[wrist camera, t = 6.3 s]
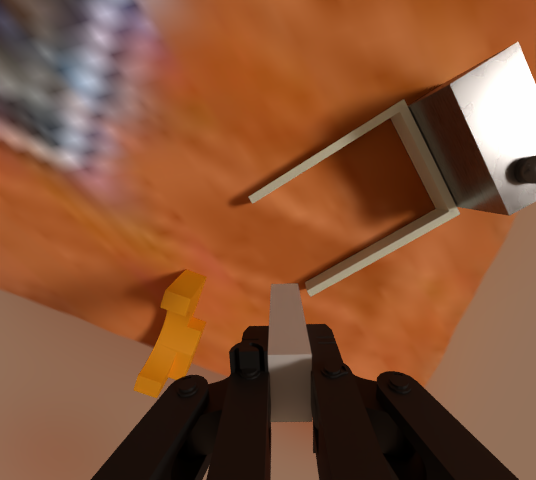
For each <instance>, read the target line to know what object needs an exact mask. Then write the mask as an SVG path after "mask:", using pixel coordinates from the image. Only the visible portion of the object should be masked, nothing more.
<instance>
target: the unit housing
mask: <svg viewBox="0 0 536 480" xmlns="http://www.w3.org/2000/svg"><path fill="white" fill-rule="evenodd" d="M408 108H409V110H410V112H411V114H412V116H413V118H414V120H415V123H416V125H417V127H418V129H419V131H420V133H421V135H422V137H423V139H424V141H425V143H426V145H427V147H428V149H429V151H430V153H431V155H432V157H433V159H434V162H435V164H436V166H437V168H438V170H439V172H440V174H441V176H442V178H443V180H444V182H445V184H446V186H447V188H448V190H449V192H450V194H451V196H452V198H453V201H454V203H455V205H456V207H462V208H468V209H473V210H479V211H485V212H491V213H497V214H503V215H511V214H513V213H515V212H517V211H519V210H521V209H522V208H524V207H526V206H528V205H530V204H532V203H533V202H535V201H536V85H535V82H534V80H533V77H532V75H531V72H530V70H529V67H528V65H527V62H526V60H525V57H524V55H523V52H522V50H521V47H520V45H519V42H517V43H515V44H513V45H511V46H510V47H508V48H506V49H504V50H502V51H501V52H499V53H497V54H495V55H493V56H492V57H490V58H488V59H486V60H485V61H483V62H481V63H479V64H477V65H476V66H474V67H472V68H470V69H468V70H467V71H465V72H463V73H461V74H460V75H458V76H456V77H454V78H452V79H451V80H449V81H447V82H445V83H443V84H442V85H440V86H439V87H437V88H435V89H434V90H432V91H431V92H429V93H427V94H426V95H424V96H423V97H421V98H419V99H418V100H416V101H415V102H413V103H411V104H410V105H408Z"/></svg>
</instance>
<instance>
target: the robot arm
mask: <svg viewBox="0 0 536 480" xmlns="http://www.w3.org/2000/svg"><path fill="white" fill-rule="evenodd" d="M229 355H230V368H231V374H230V376H229V377H228V378H226V379H224V380H222V381H219V382H215V383H212V384H208V382H207V380H206V379H205V378H204V377H202V376H199V375H189V376H184V377H181V378H179V379H177V380H176V381H174V382H173V383H172V384H171V385H170V386H169V387H168V388H167V390H166V391H165V392H164V393H163V394H162V395H161V397H160V398H159V399H158V400H157V402H156V403H155V404H154V405H153V406H152V407H151V409H150V410H149V411H148V412H147V413H146V415H145V416H144V417H143V418H142V419H141V421H140V422H139V423H138V424H137V425H136V426H135V428H134V429H133V430H132V431H131V432H130V434H129V435H128V436H127V437H126V439H125V440H124V441H123V442H122V443H121V444H120V445H119V447H118V448H117V449H116V450H115V451H114V453H113V454H112V455H111V456H110V457H109V459H108V460H107V461H106V462H105V463H104V464H103V466H102V467H101V468H100V469H99V471H98V472H97V473H96V474H95V475H94V476H93V478H92V479H91V480H202V479H203V477H204V475H205V473H206V471H207V469H208V467H209V470H208V475H207V479H206V480H270V472H271V471H270V470H271V422H311V421H312V418H313V453H316V459H317V466H318V474H319V480H519V479H518V478H516V476H515V475H514V474H512V473H511V471H509V470H508V469H507V468H506V467H505V466H504V465H503V464H502V463H501V462H500V461H499V460H498V459H497V458H496V457H495V456H494V455H493V454H492V453H491V452H490V451H489V450H488V449H487V448H485V446H484V445H482V444H481V443H480V442H479V441H478V440H477V439H476V438H475V437H474V436H473V435H472V434H471V433H470V432H469V431H468V430H467V429H466V428H465V427H464V426H463V425H461V423H460V422H459V421H458V420H457V419H455V418H454V417H453V416H452V415H451V414H450V413H449V412H448V411H447V410H446V409H445V408H444V407H443V406H442V405H441V404H440V403H439V402H438V401H437V400H436V399H435V398H434V397H433V396H431V394H430V393H428V392H427V391H426V390H425V389H424V388H423V387H422V386H421V385H420V384H419V383H418V382H417V381H416V380H414V379H413V378H412V377H410V376H408V375H406V374H403V373H400V372H395V371H389V372H384V373H381V374H380V375H379V376H378V377H377V382H376V381H372V380H367V379H363V378H360V377H357V376H355V375H353V374H352V371H351V370H350V368H349V367H348V366H347V365H346V364H344V363H343V360H342V358H341V355H340V352H339V349H338V346H337V344H336V341H335V338H334V335H333V332H332V330H331V329H330V328H329V327H328V326H327V325H326V324H306V323H305V318H304V312H303V307H302V302H301V297H300V292H299V287H298V284H271V300H270V319H269V326H249V327H248V328H247V329H246V330H245V331H244V332H243V337H242V342H241V343H238V344H236V345H235V346H233V347H232V348H231V350H230V351H229ZM209 465H210V466H209Z"/></svg>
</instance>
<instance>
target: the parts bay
mask: <svg viewBox="0 0 536 480" xmlns="http://www.w3.org/2000/svg"><path fill="white" fill-rule="evenodd" d="M389 118H390V119H391V121H392V123H393V125H394V127H395V129H396V131H397V133H398V135H399V136H400V138H401V140H402V142H403V144H404V146H405V148H406V150H407V152H408V154H409V156H410V158H411V160H412V162H413V164H414V166H415V168H416V170H417V172H418V174H419V176H420V178H421V180H422V182H423V184H424V186H425V188H426V190H427V192H428V194H429V196H430V198H431V200H432V202H433V204H434V206H435V208H436V209H435V210H433V211H431V212H429V213H427V214H426V215H424V216H422V217H420V218H419V219H417V220H415V221H413V222H411V223H410V224H408V225H406V226H404V227H403V228H401V229H399V230H397V231H395V232H394V233H392V234H390V235H388V236H387V237H385V238H383V239H381V240H379V241H378V242H376V243H374V244H372V245H371V246H369V247H367V248H365V249H363V250H362V251H360V252H358V253H356V254H354V255H353V256H351V257H349V258H347V259H346V260H344V261H342V262H340V263H338V264H337V265H335V266H333V267H331V268H330V269H328V270H326V271H324V272H322V273H321V274H319V275H317V276H315V277H314V278H312V279H310V280H308V281H306V282H305V285H306V289H307V292H308V293H309V295H310V297H311V296H313V295H315V294H316V293H318V292H320V291H322V290H324V289H325V288H327V287H329V286H331V285H333V284H335V283H336V282H338V281H340V280H342V279H344V278H345V277H347V276H349V275H351V274H353V273H354V272H356V271H358V270H360V269H362V268H364V267H365V266H367V265H369V264H371V263H373V262H374V261H376V260H378V259H380V258H382V257H383V256H385V255H387V254H389V253H391V252H393V251H394V250H396V249H398V248H400V247H402V246H403V245H405V244H407V243H409V242H411V241H412V240H414V239H416V238H418V237H420V236H422V235H423V234H425V233H427V232H429V231H431V230H432V229H434V228H436V227H438V226H440V225H441V224H443V223H445V222H447V221H449V220H451V219H452V218H454V217H456V216H458V215H460V213H459V211H458V209H457V207H456V205H455V203H454V201H453V198H452V196H451V194H450V192H449V190H448V188H447V186H446V184H445V182H444V180H443V178H442V176H441V174H440V172H439V170H438V168H437V166H436V164H435V162H434V159H433V157H432V155H431V153H430V151H429V149H428V147H427V145H426V143H425V141H424V139H423V137H422V135H421V133H420V131H419V129H418V127H417V125H416V123H415V120H414V118H413V116H412V114H411V112H410V110H409V108H408V106H407V104H406V102H405V100H404V99H403V100H401V101H400V102H398V103H396V104H395V105H393V106H392V107H390V108H388V109H387V110H385V111H384V112H382V113H381V114H379V115H377V116H376V117H374V118H373V119H371V120H369V121H368V122H366V123H365V124H363V125H361V126H360V127H358V128H357V129H355V130H354V131H352V132H350V133H349V134H347V135H346V136H344V137H342V138H341V139H339V140H338V141H336V142H334V143H333V144H331V145H330V146H328V147H327V148H325V149H323V150H322V151H320V152H319V153H317V154H315V155H314V156H312V157H311V158H309V159H307V160H306V161H304V162H303V163H301V164H300V165H298V166H296V167H295V168H293V169H292V170H290V171H288V172H287V173H285V174H284V175H282V176H280V177H279V178H277V179H276V180H274V181H273V182H271V183H269V184H268V185H266V186H265V187H263V188H261V189H260V190H258V191H257V192H255V193H253V194H252V195H250V196H249V199H250V201H251V202H252V204H253V203H254V202H256V201H258V200H259V199H261V198H262V197H264V196H266V195H267V194H269V193H270V192H272V191H274V190H275V189H277V188H278V187H280V186H282V185H283V184H285V183H286V182H288V181H290V180H291V179H293V178H294V177H296V176H298V175H299V174H301V173H302V172H304V171H306V170H307V169H309V168H311V167H312V166H314V165H315V164H317V163H319V162H320V161H322V160H323V159H325V158H327V157H328V156H330V155H331V154H333V153H335V152H336V151H338V150H339V149H341V148H343V147H344V146H346V145H347V144H349V143H351V142H352V141H354V140H355V139H357V138H359V137H360V136H362V135H363V134H365V133H367V132H368V131H370V130H371V129H373V128H375V127H376V126H378V125H379V124H381V123H383V122H384V121H386V120H387V119H389Z"/></svg>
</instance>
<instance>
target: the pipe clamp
mask: <svg viewBox="0 0 536 480" xmlns="http://www.w3.org/2000/svg"><path fill="white" fill-rule="evenodd" d="M206 278H207V277H206V276H203V275H200V274H198V273H195V272H192V271H189V270H187V269H186V270H185V271H184V272H183V273H182V274H181V275H180V276H179V277H178V278H177V279H176V280H175V281H174V282H173V283H172V284H171V285H170V286H169V287H168V288H167V289H166V290H165V293H164V296H163V299H162V302H161V305H160V308H163V309H166V310H167V315H166V318H165V322H164V325H163V327H162V330H161V333H160V335H159V337H158V340H157V342H156V344H155V346H154V348H153V350H152V352H151V355H150V356H149V358H148V360H147V362H146V364H145V365H144V367H143V369H142V370H141V372H140V373H139V375H138V377H137V381H136V384H135V387H134V391H137V392H140V393H143V394H146V395H149V396H152V397H155V398H157V397H158V395H159V393H160V392H161V390H162V388H163V386H164V384H165V382H166V381H167V379H168V377H169V378H172V379H175V380H177V379H179V378H181V377H184V376H186V374H187V372H188V369H189V368H190V365H191V363H192V360H193V357H194V354H195V352H196V349H197V346H198V344H199V341H200V338H201V335H202V333H203V330H204V327H205V324H206V322H205V321H202V320H199V319H197V318H194V317H193V315H194V312H195V309H196V306H197V303H198V301H199V298H200V295H201V292H202V289H203V286H204V283H205V281H206Z"/></svg>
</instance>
